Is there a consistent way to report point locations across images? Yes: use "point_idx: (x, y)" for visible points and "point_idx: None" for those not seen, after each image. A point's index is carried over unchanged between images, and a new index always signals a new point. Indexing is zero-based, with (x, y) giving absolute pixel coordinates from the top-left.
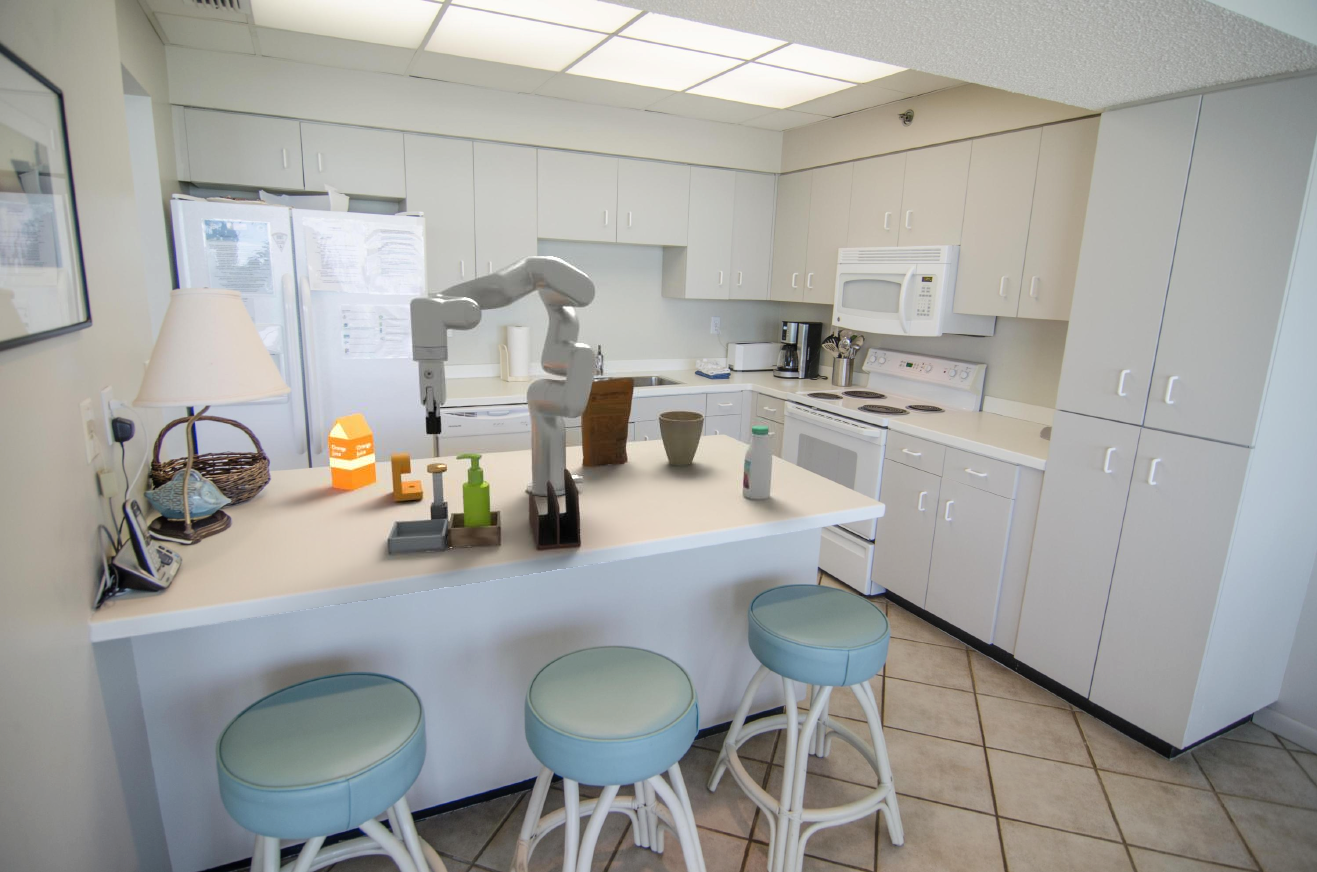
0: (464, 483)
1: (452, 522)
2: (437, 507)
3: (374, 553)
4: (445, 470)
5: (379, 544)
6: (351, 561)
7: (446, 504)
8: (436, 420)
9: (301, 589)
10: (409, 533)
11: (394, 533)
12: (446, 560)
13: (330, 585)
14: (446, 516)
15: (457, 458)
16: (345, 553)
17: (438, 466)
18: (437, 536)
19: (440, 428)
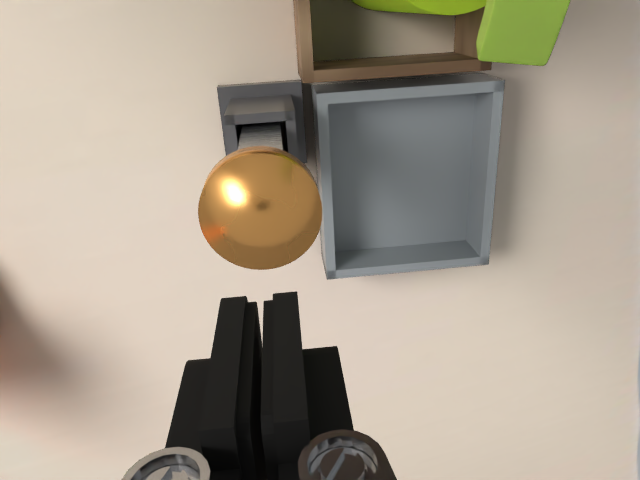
0: (435, 4)
1: (397, 64)
2: (297, 148)
3: (452, 280)
4: (283, 151)
5: (386, 284)
6: (495, 320)
7: (262, 114)
8: (339, 424)
9: (626, 373)
10: (336, 217)
11: (404, 257)
12: (563, 55)
13: (627, 324)
14: (292, 103)
15: (546, 52)
16: (436, 349)
17: (279, 201)
18: (502, 105)
19: (299, 320)
